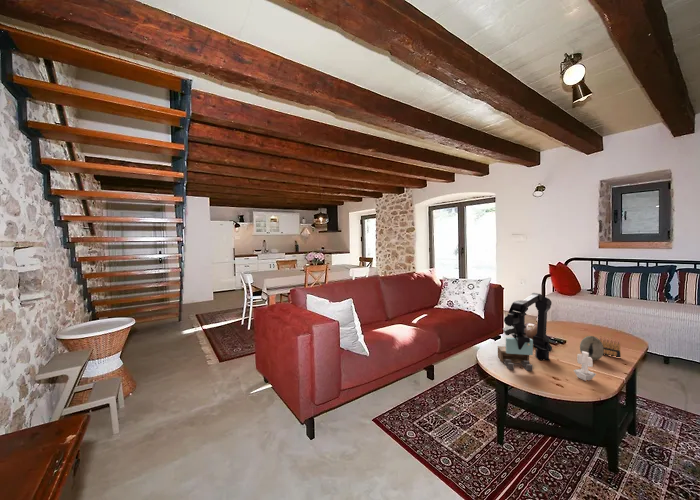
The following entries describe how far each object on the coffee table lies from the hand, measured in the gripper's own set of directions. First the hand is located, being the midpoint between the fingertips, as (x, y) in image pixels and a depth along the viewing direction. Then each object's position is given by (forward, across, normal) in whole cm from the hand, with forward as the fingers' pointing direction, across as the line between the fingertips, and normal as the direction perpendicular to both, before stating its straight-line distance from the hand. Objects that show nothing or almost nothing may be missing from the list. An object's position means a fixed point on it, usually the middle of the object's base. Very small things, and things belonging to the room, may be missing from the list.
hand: (518, 348), depth 175 cm
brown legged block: (+12, -6, 0) cm, 13 cm away
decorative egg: (+12, -21, +48) cm, 54 cm away
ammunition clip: (+12, -29, +62) cm, 69 cm away
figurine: (+12, +7, +31) cm, 34 cm away
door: (+3, 0, 0) cm, 3 cm away
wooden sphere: (+12, -44, +22) cm, 51 cm away
